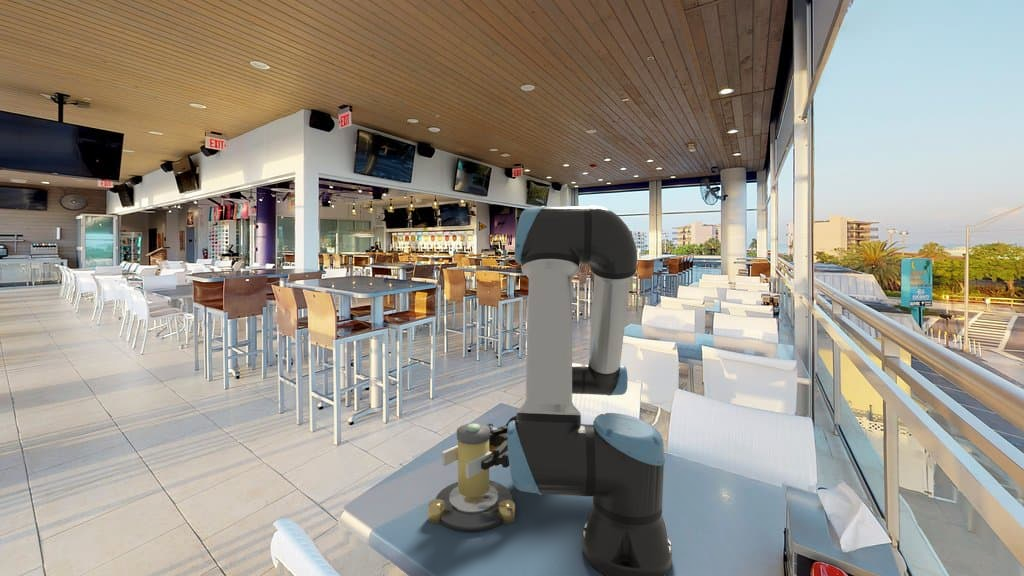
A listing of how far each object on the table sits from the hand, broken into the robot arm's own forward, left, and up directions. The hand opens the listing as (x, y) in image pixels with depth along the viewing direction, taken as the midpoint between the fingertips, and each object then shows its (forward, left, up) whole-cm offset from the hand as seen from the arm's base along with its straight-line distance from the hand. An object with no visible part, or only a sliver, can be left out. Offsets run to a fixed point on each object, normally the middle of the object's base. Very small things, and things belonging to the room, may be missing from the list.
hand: (455, 464), depth 81 cm
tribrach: (+2, -5, -11) cm, 12 cm away
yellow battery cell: (+2, -5, -7) cm, 9 cm away
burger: (+22, -17, -11) cm, 30 cm away
